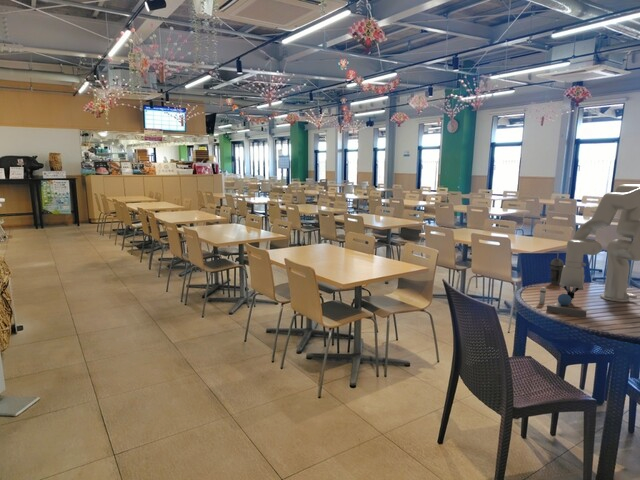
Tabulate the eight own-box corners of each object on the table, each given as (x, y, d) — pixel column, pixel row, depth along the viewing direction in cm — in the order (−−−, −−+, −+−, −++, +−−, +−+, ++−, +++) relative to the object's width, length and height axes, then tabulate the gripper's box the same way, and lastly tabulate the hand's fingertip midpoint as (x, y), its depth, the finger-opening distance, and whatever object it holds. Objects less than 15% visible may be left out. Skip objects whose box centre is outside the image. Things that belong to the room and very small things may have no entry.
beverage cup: (548, 284, 255) (551, 251, 252) (548, 281, 261) (551, 249, 258) (562, 286, 252) (565, 252, 249) (562, 283, 258) (565, 250, 255)
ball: (568, 295, 210) (573, 306, 210) (568, 290, 214) (573, 300, 215) (555, 298, 213) (560, 309, 214) (555, 293, 218) (561, 303, 219)
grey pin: (545, 303, 217) (546, 287, 216) (544, 304, 215) (545, 288, 214) (539, 302, 219) (541, 286, 217) (538, 304, 217) (540, 287, 215)
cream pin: (555, 306, 213) (549, 310, 207) (555, 301, 213) (549, 305, 207) (560, 307, 211) (554, 311, 205) (561, 302, 211) (555, 306, 205)
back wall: (585, 317, 197) (586, 310, 197) (585, 318, 196) (586, 312, 195) (547, 310, 207) (547, 304, 206) (546, 311, 205) (546, 305, 205)
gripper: (591, 265, 216) (588, 300, 218) (558, 261, 224) (554, 295, 227) (590, 267, 210) (586, 304, 213) (555, 263, 218) (552, 298, 221)
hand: (570, 299), depth 220 cm, fingers closed
